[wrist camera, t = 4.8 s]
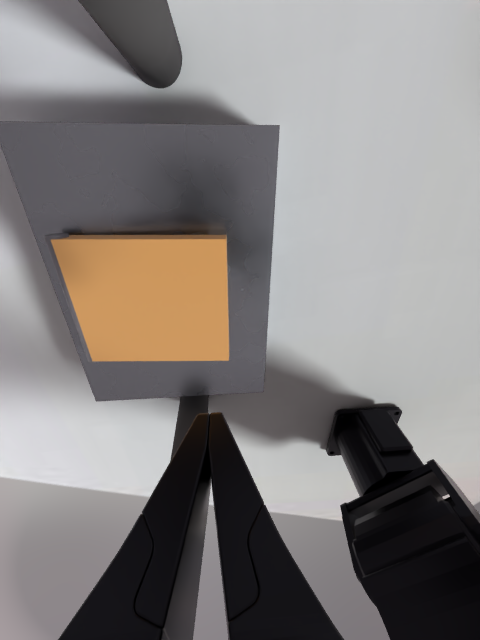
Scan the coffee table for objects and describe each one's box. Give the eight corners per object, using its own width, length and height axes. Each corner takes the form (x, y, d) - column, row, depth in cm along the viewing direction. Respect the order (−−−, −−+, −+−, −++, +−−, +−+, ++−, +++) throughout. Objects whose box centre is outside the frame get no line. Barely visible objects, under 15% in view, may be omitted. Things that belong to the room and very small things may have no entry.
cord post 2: (209, 404, 24) (206, 484, 18) (182, 406, 24) (170, 487, 18) (207, 384, 23) (204, 462, 17) (179, 386, 22) (165, 465, 16)
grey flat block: (257, 365, 22) (263, 391, 19) (108, 373, 21) (93, 401, 19) (268, 133, 14) (279, 125, 12) (32, 131, 13) (-12, 121, 11)
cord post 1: (184, 88, 13) (156, 16, 7) (135, 87, 13) (62, 12, 7) (179, 19, 12) (139, -140, 6) (124, 17, 12) (25, -149, 6)
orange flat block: (52, 232, 13) (38, 237, 12) (226, 232, 13) (225, 237, 12) (92, 352, 16) (84, 362, 15) (229, 352, 16) (228, 362, 16)
